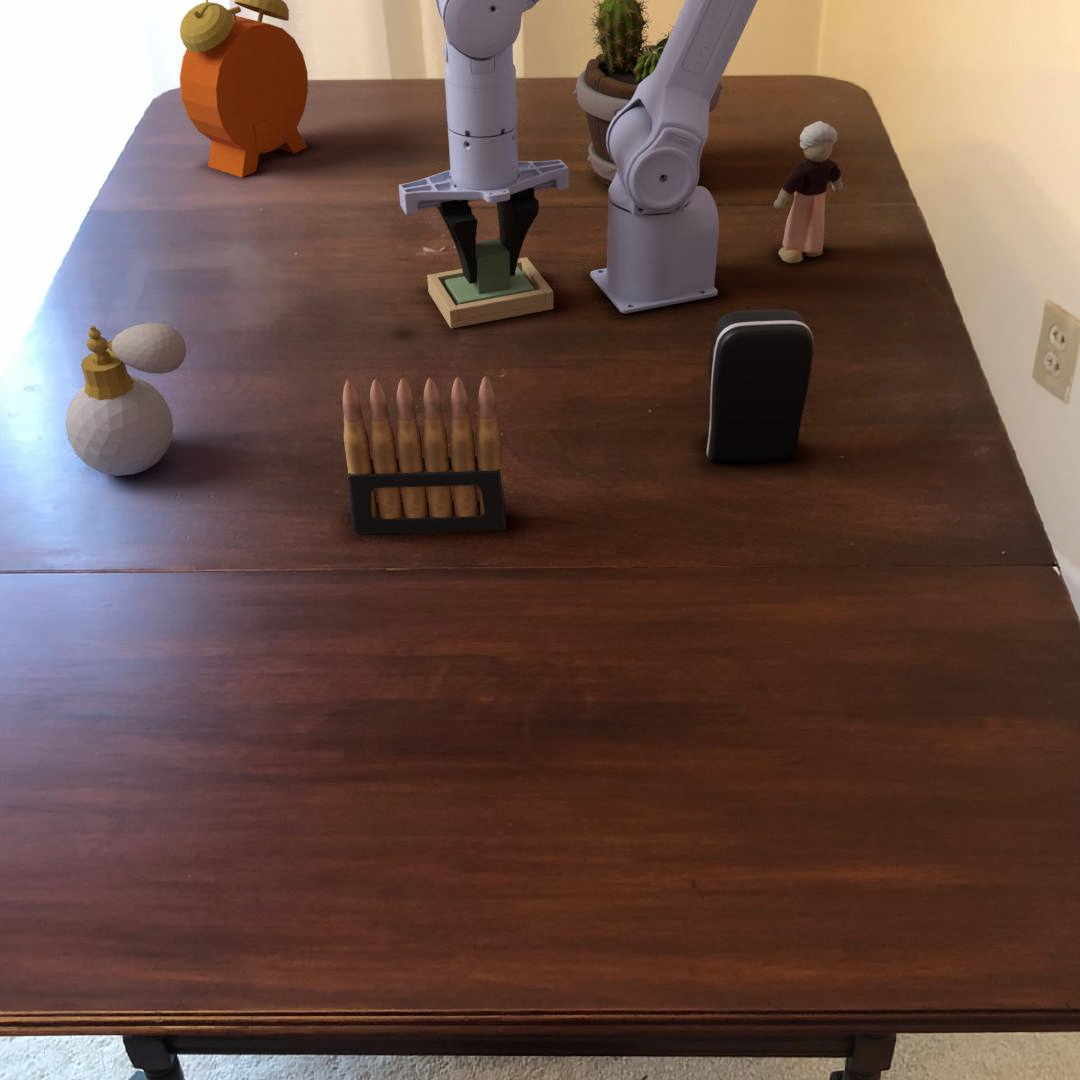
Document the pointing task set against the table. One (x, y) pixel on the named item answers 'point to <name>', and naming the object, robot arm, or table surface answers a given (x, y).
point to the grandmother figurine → (809, 194)
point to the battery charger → (758, 385)
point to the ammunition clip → (424, 463)
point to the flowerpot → (617, 75)
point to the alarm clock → (242, 83)
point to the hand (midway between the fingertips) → (488, 275)
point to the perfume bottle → (124, 400)
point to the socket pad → (491, 307)
